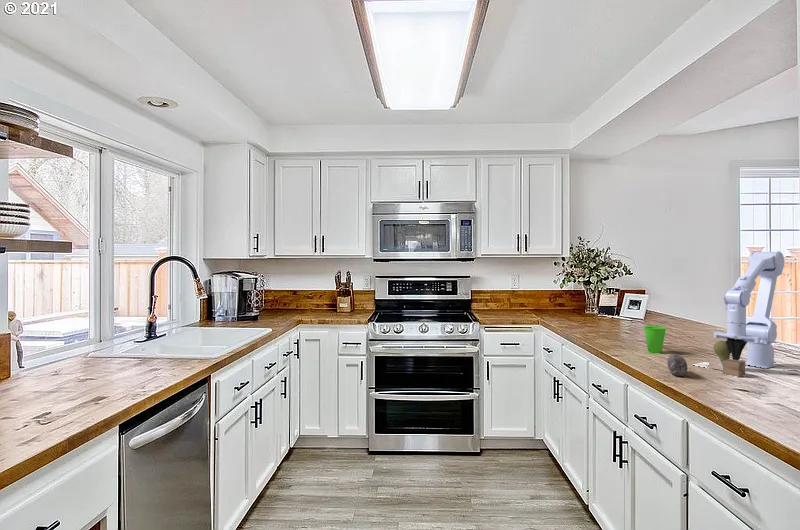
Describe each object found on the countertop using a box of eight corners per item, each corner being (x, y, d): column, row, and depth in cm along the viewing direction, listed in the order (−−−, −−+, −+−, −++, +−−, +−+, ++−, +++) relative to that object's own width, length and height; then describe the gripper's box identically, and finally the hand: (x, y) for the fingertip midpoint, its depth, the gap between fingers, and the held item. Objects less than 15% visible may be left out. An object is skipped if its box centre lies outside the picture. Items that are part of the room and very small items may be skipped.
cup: (644, 353, 209) (644, 328, 209) (642, 349, 217) (642, 325, 217) (667, 355, 206) (668, 329, 205) (665, 351, 214) (665, 326, 214)
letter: (704, 362, 191) (704, 361, 191) (744, 369, 179) (744, 368, 179) (691, 365, 186) (691, 364, 186) (731, 372, 174) (731, 372, 174)
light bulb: (738, 367, 177) (732, 340, 178) (721, 369, 178) (715, 341, 179) (731, 366, 182) (725, 339, 184) (714, 367, 183) (709, 341, 185)
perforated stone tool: (664, 368, 181) (664, 350, 181) (680, 369, 179) (680, 351, 179) (671, 377, 167) (671, 357, 167) (688, 379, 165) (688, 358, 165)
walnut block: (729, 372, 174) (729, 359, 174) (745, 375, 170) (745, 361, 170) (722, 374, 172) (722, 360, 171) (738, 377, 167) (738, 363, 167)
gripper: (709, 321, 181) (709, 357, 181) (754, 325, 169) (753, 364, 169) (718, 320, 185) (718, 355, 185) (763, 324, 173) (762, 362, 173)
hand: (736, 359), depth 177 cm, fingers closed
